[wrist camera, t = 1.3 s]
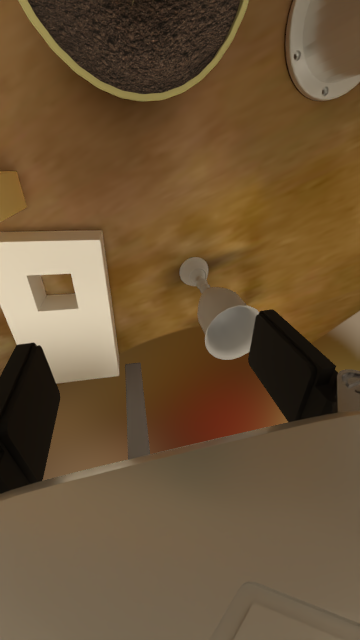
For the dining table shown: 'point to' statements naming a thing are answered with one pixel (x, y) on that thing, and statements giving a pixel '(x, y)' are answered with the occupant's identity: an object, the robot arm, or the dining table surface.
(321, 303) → the dining table surface
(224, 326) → the chalice
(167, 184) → the dining table surface
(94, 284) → the socket block
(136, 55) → the potted cactus
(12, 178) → the peg
